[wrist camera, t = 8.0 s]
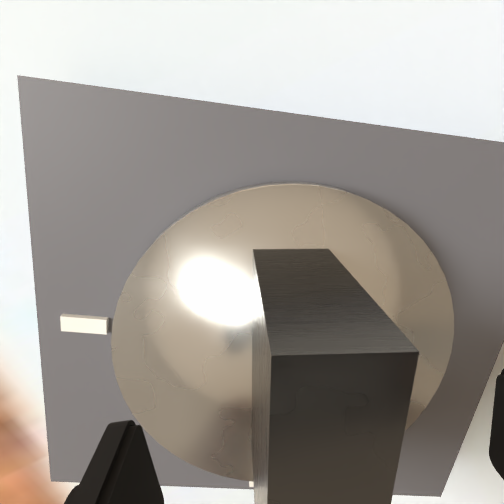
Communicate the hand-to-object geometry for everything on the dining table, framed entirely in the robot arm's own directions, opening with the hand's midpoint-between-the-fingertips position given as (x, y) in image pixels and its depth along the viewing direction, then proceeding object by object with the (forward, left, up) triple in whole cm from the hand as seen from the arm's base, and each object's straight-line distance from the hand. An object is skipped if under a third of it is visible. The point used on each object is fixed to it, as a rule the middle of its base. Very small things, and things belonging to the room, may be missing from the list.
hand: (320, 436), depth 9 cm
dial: (0, 0, -4) cm, 4 cm away
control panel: (0, 0, -7) cm, 7 cm away
